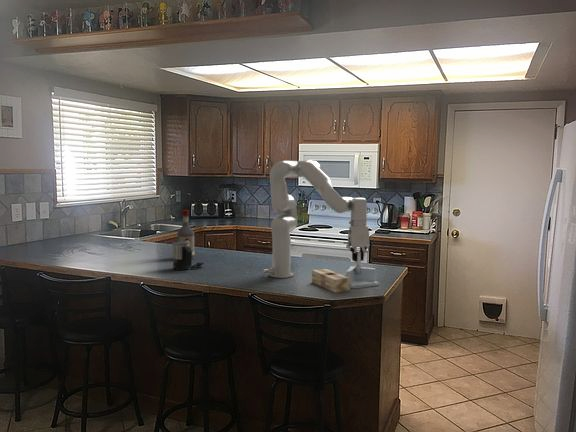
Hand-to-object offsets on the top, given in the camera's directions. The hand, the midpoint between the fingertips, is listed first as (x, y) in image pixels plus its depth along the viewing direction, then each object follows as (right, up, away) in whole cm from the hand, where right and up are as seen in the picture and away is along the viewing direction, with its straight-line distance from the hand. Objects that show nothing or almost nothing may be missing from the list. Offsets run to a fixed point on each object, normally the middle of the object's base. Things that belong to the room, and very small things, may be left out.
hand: (357, 260), depth 234 cm
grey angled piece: (0, -12, 0) cm, 12 cm away
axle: (0, -7, +1) cm, 7 cm away
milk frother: (-90, -8, +33) cm, 96 cm away
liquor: (-97, -5, +61) cm, 115 cm away
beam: (-14, -12, -5) cm, 19 cm away
